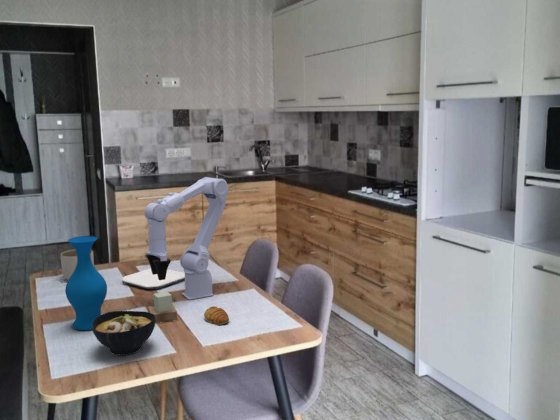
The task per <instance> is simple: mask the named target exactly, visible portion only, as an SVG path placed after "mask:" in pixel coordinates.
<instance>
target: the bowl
mask: <svg viewBox="0 0 560 420" xmlns="http://www.w3.org/2000/svg"><path fill="white" fill-rule="evenodd" d="M155 322H156V320H155V315H154V314H152V313H148V311H147V312H146V311H139V310H115V311H114V310H113V311H108V312H105V313H101V315H100V316H98V317H96V318H95V319H94V320H93V322H92V332H93V334H94V336H95V338H96V340H97V341H98V342H99V343H100V344H101V345H102V346H103V347H106V349H108V350H109V351H110V353H111V354H112V355H116V356H126V355H127V356H128V355H132V354H135V353H137V352H139V351H141V349H142V347H143V345H144V344H145V343H146V342H147V341H148V340H149V338H150V337H151V336H152V333H153V331H154V329H155V327H156V324H155Z"/></svg>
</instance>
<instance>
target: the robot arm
mask: <svg viewBox="0 0 560 420" xmlns="http://www.w3.org/2000/svg"><path fill="white" fill-rule="evenodd" d="M229 191H230V187H229V185H228V183H227V181H226V180H225V179H224V178H217V177H216V178H215V177H209V176H204V177H203V178H201V179H198V180H197V181H196V182H195V183H193V184H192V185H190V186H189V187H187V188H186V189H184V190H182V191H181V192H179V193H178V192H169V193H167V196H165V197H163V198H159V199H157V200H156V202H150V203H149V204H147V205H146V207H145V210H144V211H143V214H144V217H145V218H146V220H147V231H148V251H145V257H146V259H147V261H148V263H149V266H150V269H151V271H152V274H153V275H154V274H157V275H158V279H159V280H165V278H166V273H167V269H168V268H169V266H170V264H171V262H172V261H171V260H172V259H170V258H168V254H167V253H168V250H167V238H166V237H167V233H166V231H167V230H166V220H167V218H168V217H169V215H170V214H173V213H174V212H176V211H177V210H179V209H181V208H182V207H183V206H184V203H185V202H187V201H189V200H190V199H193V198H195V197H197V196H199V195H201V194H202V195H203V196H204V197H205V199H206V200H207V202H208V204H209V206H208V208H207V211H206V213H205V215H204V217H203V219H202V222H201V225H200V227H199V230H198V232H197V233H196V236H195V238H194V241H193V243H192V244H191V245H189V246H188V247H187V248H186V250H185V251H184V253H182V255H181V257H180V259H179V264H180V266H181V267H182V268H183V273H185V279H184V292H183V291H181V294H182V296H183V297H184V298H186V299H188V300H190V301H191V300H194V299H195V300H196V299H201V298H207V297H212V296H214V293H213V277H212V273H211V271H210V270H208V268H209V259H210V257H211V254H210V252H209V250H208V248H209V246H210V243H211V242H212V239H213V236H214V234H215V232H216V229H217V226H218V225H219V222H220V220H221V217H222V215H223V213H224V210H225V208H226V206H227V205H226V201H227V195H228V193H229Z"/></svg>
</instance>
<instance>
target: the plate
mask: <svg viewBox="0 0 560 420" xmlns="http://www.w3.org/2000/svg"><path fill="white" fill-rule="evenodd" d="M183 280H185V272H183V271H177V270H173V269H170V268H169V269H167V273H166V278H165V280H159V279H158V275H157V274H154V275H153V274H152V271H151V268H147V269H145V270H141V271H138V272H134V273H131V274H127V275H125V276H123V277H122V279H121V281H122V282H123V283H125V284H127V285H131V286H135V287H138V288H141V289H146V290H159V289H162V288H164V287H168V286H170V285H173V284H176V283H180V282H182V281H183Z"/></svg>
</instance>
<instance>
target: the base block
mask: <svg viewBox="0 0 560 420" xmlns="http://www.w3.org/2000/svg"><path fill="white" fill-rule="evenodd" d="M147 312H148V313H152V314H154V315H155V320H156V322H155V323H157V324H161V323H160V322H164V323H168V322H167V321H171V322H174V321H173V320H177V321H178V311H177V309H176V307H175V306H174V304H173V303H172V310H169V311H164V312H157V311H156V310H155V309H154V305H151V306H147Z"/></svg>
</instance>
